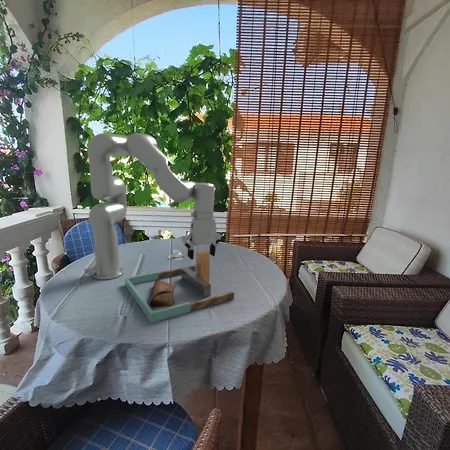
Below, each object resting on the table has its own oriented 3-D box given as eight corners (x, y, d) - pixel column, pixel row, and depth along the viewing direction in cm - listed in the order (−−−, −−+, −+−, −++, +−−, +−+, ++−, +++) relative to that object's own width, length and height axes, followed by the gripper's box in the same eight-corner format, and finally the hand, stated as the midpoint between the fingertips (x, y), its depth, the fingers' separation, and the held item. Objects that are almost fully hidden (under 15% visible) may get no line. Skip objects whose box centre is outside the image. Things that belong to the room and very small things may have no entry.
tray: (151, 322, 90) (151, 314, 89) (125, 284, 116) (124, 277, 116) (190, 311, 97) (190, 303, 96) (157, 278, 124) (157, 271, 123)
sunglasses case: (175, 306, 100) (164, 291, 98) (157, 316, 100) (147, 302, 98) (175, 284, 117) (166, 271, 116) (160, 293, 117) (151, 280, 115)
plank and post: (203, 297, 107) (203, 261, 104) (181, 278, 124) (181, 247, 121) (219, 292, 111) (220, 258, 108) (196, 275, 128) (195, 245, 124)
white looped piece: (177, 254, 156) (177, 247, 156) (188, 257, 152) (187, 250, 151) (165, 258, 150) (165, 251, 149) (176, 261, 145) (175, 254, 144)
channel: (190, 311, 97) (190, 304, 97) (157, 278, 124) (157, 272, 123) (234, 298, 107) (234, 292, 106) (194, 270, 133) (194, 265, 133)
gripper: (187, 218, 104) (186, 263, 108) (227, 215, 113) (224, 256, 117) (179, 214, 110) (178, 256, 114) (217, 212, 119) (215, 251, 123)
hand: (201, 256), depth 115 cm, fingers open, 9 cm apart
